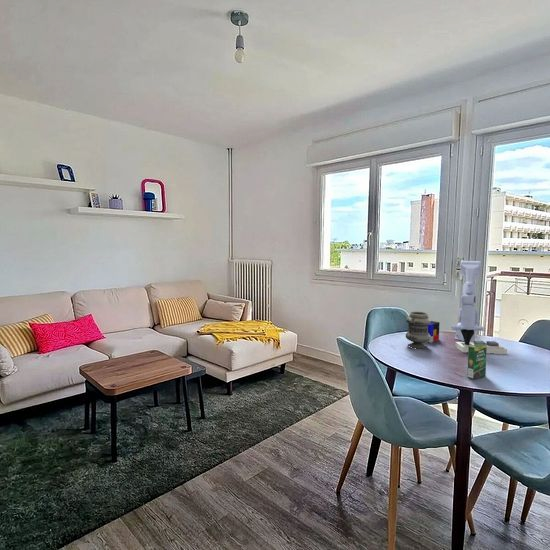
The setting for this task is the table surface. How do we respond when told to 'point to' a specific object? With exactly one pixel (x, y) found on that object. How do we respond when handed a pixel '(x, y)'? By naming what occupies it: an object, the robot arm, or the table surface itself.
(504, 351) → the button board
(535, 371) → the table surface
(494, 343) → the right button
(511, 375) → the table surface
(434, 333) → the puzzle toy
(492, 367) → the table surface
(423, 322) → the stone vase
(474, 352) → the coffee box
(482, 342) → the middle button
